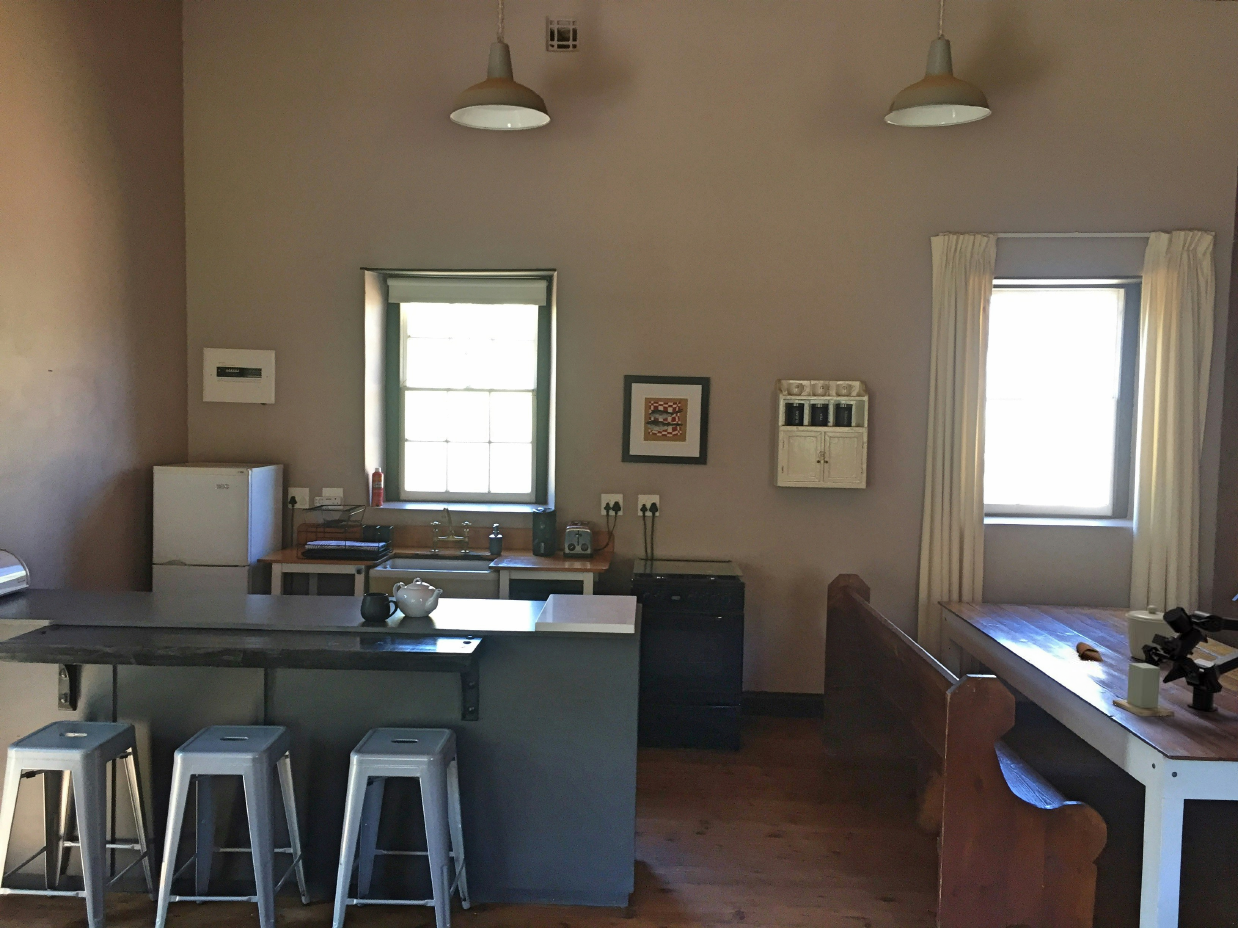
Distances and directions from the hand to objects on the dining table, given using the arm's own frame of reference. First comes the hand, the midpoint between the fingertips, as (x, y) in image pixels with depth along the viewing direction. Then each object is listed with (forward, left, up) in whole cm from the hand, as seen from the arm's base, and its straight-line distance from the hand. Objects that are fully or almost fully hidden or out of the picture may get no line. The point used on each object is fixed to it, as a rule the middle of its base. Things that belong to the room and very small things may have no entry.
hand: (1152, 678), depth 282 cm
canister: (-67, -36, -10) cm, 77 cm away
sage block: (+3, -1, -8) cm, 9 cm away
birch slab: (+3, -1, -11) cm, 11 cm away
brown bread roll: (-50, -50, -11) cm, 71 cm away
